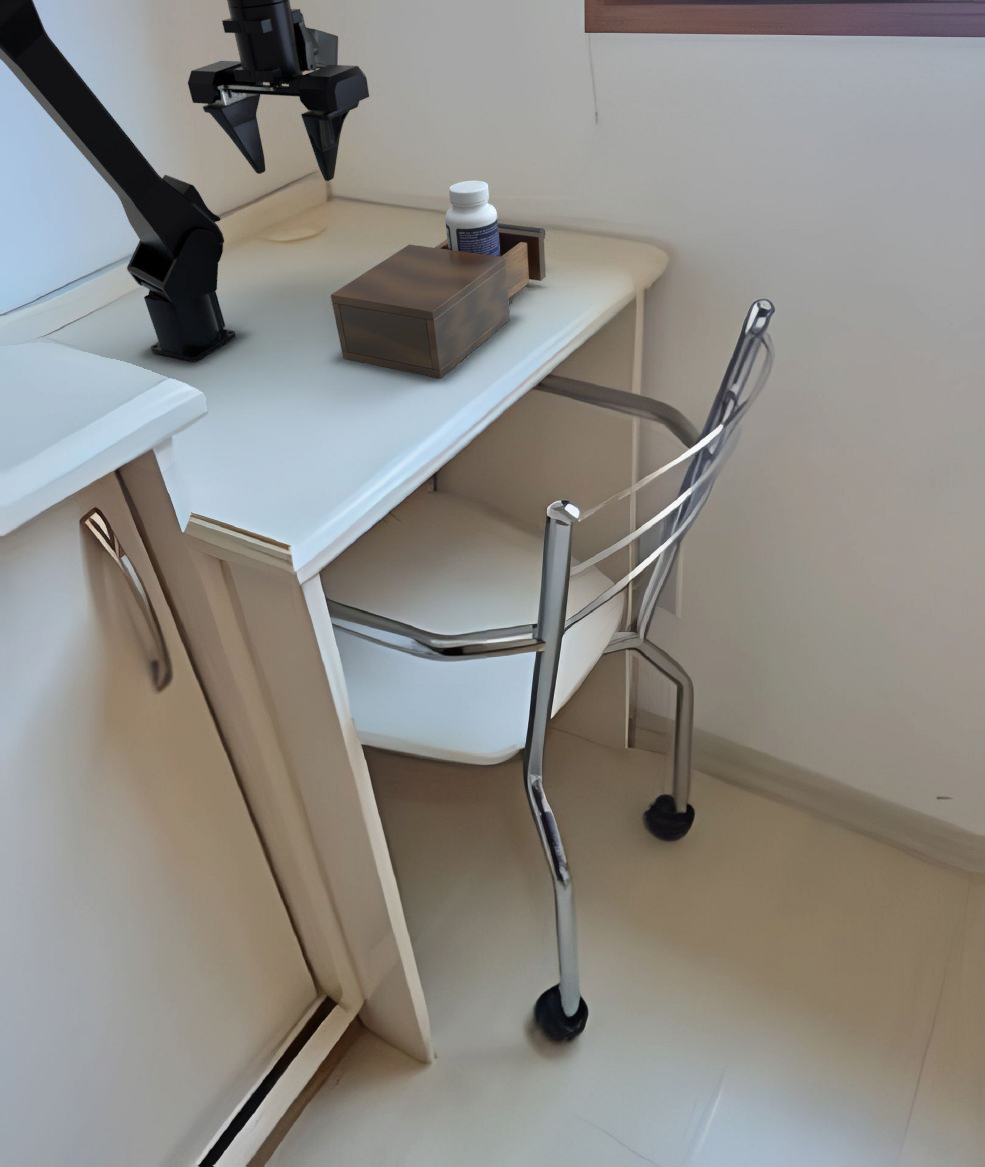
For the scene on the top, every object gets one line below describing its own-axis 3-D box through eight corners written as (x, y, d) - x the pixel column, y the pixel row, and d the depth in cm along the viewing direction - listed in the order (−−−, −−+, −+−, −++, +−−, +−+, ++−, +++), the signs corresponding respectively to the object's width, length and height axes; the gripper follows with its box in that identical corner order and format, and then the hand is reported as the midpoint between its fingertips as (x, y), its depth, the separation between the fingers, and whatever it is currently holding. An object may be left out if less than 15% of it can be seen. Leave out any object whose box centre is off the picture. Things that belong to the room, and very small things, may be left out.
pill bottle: (512, 277, 100) (506, 183, 94) (477, 294, 97) (468, 198, 91) (477, 267, 103) (468, 174, 97) (442, 283, 100) (430, 189, 94)
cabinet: (417, 304, 101) (409, 244, 97) (510, 320, 96) (505, 257, 92) (342, 358, 93) (330, 294, 88) (440, 378, 88) (432, 312, 83)
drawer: (484, 251, 109) (481, 210, 106) (564, 262, 105) (562, 219, 102) (404, 309, 98) (398, 264, 95) (489, 323, 94) (485, 277, 91)
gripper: (388, -14, 88) (411, 160, 98) (241, -13, 96) (276, 148, 106) (316, 9, 81) (348, 193, 91) (163, 8, 89) (208, 178, 99)
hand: (294, 176), depth 97 cm, fingers open, 9 cm apart
